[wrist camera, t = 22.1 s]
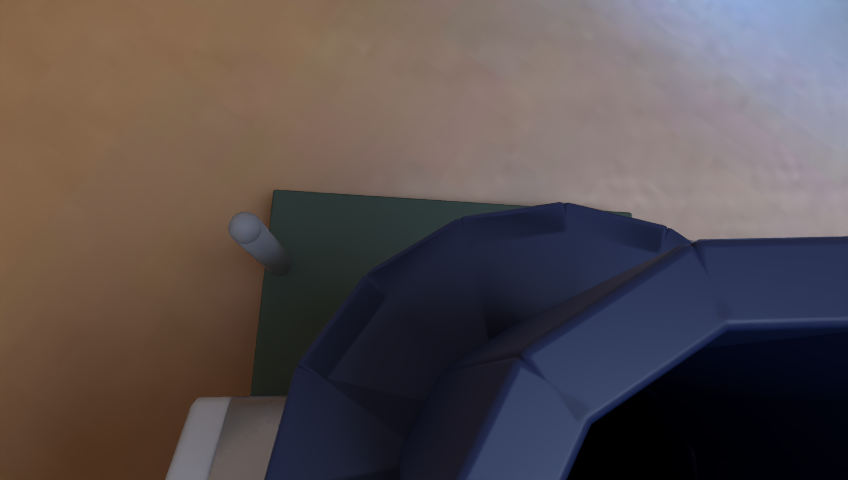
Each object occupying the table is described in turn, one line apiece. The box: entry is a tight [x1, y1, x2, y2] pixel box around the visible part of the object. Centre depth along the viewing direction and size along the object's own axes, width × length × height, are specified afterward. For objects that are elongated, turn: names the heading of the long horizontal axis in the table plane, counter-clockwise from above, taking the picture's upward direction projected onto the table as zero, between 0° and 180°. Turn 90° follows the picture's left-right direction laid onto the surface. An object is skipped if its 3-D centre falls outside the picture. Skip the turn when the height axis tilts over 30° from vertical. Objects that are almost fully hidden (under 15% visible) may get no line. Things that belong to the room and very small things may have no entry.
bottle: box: [264, 202, 848, 480], centre depth 10 cm, size 6×6×16 cm
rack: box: [228, 190, 695, 396], centre depth 17 cm, size 14×12×6 cm
